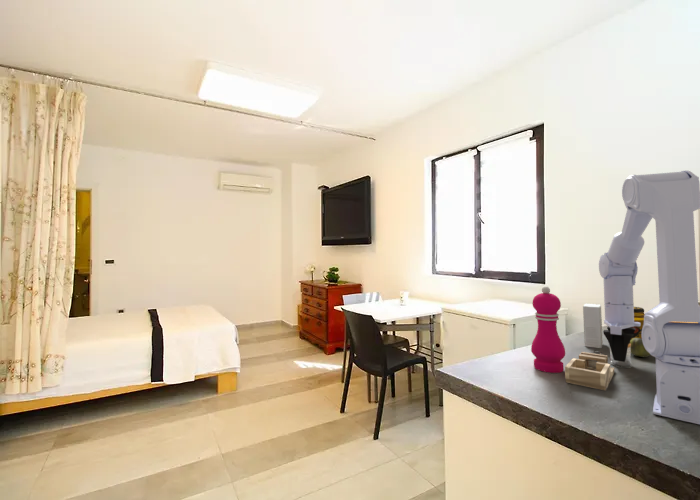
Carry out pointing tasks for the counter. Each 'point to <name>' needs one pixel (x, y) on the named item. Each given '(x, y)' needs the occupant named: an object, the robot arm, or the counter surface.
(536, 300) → the pepper mill
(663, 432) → the counter surface
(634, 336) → the condiment
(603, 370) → the mount
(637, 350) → the lime
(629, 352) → the small glass jar
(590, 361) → the lock pin
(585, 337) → the skincare box
